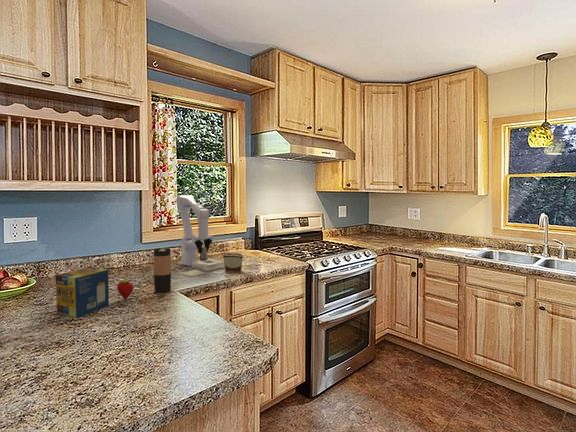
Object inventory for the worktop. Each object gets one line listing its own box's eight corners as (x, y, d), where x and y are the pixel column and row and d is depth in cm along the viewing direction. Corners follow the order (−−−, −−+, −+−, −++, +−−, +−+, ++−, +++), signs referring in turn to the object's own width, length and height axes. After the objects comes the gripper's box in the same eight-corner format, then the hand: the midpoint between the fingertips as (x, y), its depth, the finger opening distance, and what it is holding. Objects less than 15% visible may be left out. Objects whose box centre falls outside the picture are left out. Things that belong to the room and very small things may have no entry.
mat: (180, 273, 199) (180, 273, 199) (195, 270, 207) (195, 269, 207) (191, 276, 193) (191, 276, 193) (206, 273, 201) (206, 272, 201)
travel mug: (161, 294, 161) (160, 251, 160) (150, 291, 165) (149, 249, 164) (174, 290, 168) (174, 249, 166) (164, 288, 172) (163, 247, 170)
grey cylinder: (198, 260, 209) (197, 247, 208) (204, 258, 212) (203, 245, 211) (202, 261, 206) (202, 247, 205) (208, 260, 209) (208, 246, 208)
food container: (245, 270, 211) (245, 253, 210) (243, 272, 205) (243, 255, 204) (225, 269, 212) (225, 252, 211) (222, 271, 206) (222, 254, 205)
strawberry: (124, 302, 150) (124, 279, 149) (113, 299, 154) (113, 277, 153) (136, 299, 155) (136, 276, 154) (126, 295, 159) (125, 274, 158)
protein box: (56, 314, 136) (54, 274, 134) (91, 302, 150) (90, 266, 149) (75, 318, 132) (74, 278, 131) (109, 305, 146) (108, 269, 145)
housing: (191, 267, 214) (191, 262, 213) (210, 263, 225) (210, 258, 224) (207, 271, 205) (206, 265, 205) (225, 267, 216) (225, 261, 216)
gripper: (197, 231, 199) (197, 255, 200) (217, 229, 211) (217, 251, 212) (189, 230, 203) (189, 253, 204) (209, 228, 215) (209, 250, 216)
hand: (203, 252), depth 208 cm, fingers closed on grey cylinder, 4 cm apart
